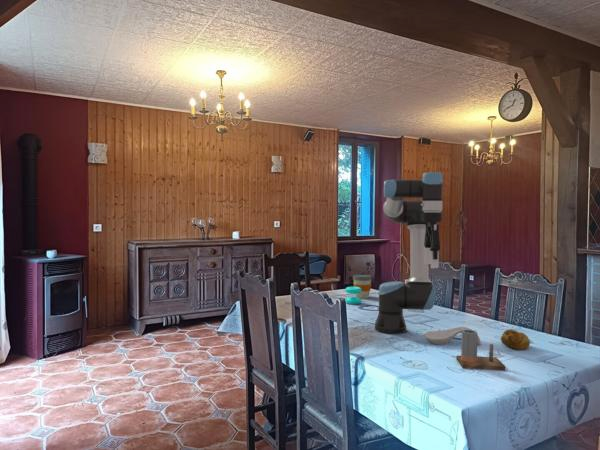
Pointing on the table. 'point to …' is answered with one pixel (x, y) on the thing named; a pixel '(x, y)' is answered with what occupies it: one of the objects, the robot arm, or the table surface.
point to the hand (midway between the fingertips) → (431, 265)
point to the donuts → (353, 291)
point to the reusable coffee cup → (362, 285)
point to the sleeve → (469, 346)
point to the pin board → (483, 362)
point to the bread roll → (515, 339)
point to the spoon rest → (445, 335)
